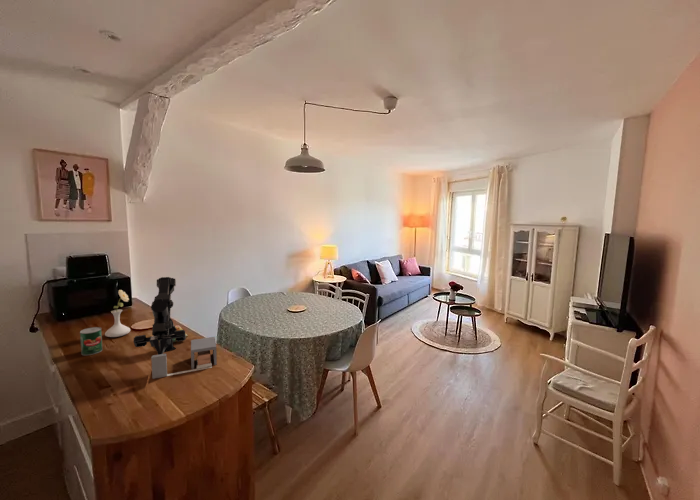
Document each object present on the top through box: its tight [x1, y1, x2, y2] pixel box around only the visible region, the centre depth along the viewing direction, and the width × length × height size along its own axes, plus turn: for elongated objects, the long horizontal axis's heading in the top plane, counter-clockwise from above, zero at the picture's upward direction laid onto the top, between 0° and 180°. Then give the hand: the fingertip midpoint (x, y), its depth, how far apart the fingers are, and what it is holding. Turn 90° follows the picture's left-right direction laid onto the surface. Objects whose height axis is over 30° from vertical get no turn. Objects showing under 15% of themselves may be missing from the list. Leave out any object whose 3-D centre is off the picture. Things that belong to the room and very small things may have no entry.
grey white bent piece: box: [151, 353, 213, 380], centre depth 130 cm, size 9×22×10 cm, turn 117°
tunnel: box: [190, 336, 218, 370], centre depth 137 cm, size 12×10×10 cm
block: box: [197, 350, 211, 365], centre depth 135 cm, size 5×5×5 cm
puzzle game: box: [173, 324, 189, 343], centre depth 163 cm, size 12×5×20 cm
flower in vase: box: [104, 289, 131, 338], centre depth 166 cm, size 13×11×25 cm
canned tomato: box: [79, 326, 103, 356], centre depth 145 cm, size 8×8×11 cm
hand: (159, 357), depth 125 cm, fingers closed
